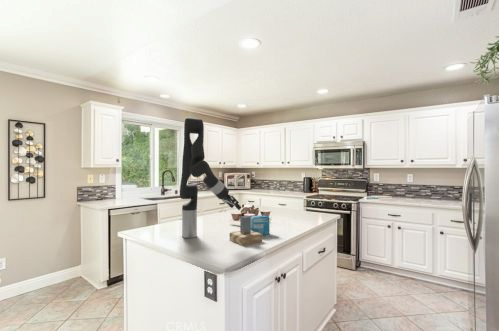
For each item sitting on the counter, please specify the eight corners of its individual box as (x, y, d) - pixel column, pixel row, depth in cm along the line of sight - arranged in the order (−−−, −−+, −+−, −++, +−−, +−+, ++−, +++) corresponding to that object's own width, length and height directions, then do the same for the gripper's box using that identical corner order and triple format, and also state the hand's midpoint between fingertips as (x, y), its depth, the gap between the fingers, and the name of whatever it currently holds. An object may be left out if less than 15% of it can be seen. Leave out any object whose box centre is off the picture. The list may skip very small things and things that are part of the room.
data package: (252, 236, 172) (252, 217, 172) (250, 234, 176) (250, 216, 176) (269, 234, 176) (269, 216, 176) (267, 232, 180) (267, 215, 180)
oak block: (229, 240, 162) (229, 232, 162) (248, 237, 170) (248, 229, 170) (242, 246, 151) (242, 237, 151) (262, 242, 159) (262, 234, 159)
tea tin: (240, 233, 161) (240, 216, 161) (246, 232, 163) (246, 215, 163) (244, 234, 157) (244, 217, 157) (250, 233, 160) (250, 217, 160)
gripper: (229, 185, 146) (246, 204, 152) (217, 183, 158) (234, 201, 164) (220, 195, 143) (238, 214, 149) (209, 193, 155) (226, 210, 161)
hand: (236, 207), depth 157 cm, fingers open, 8 cm apart
